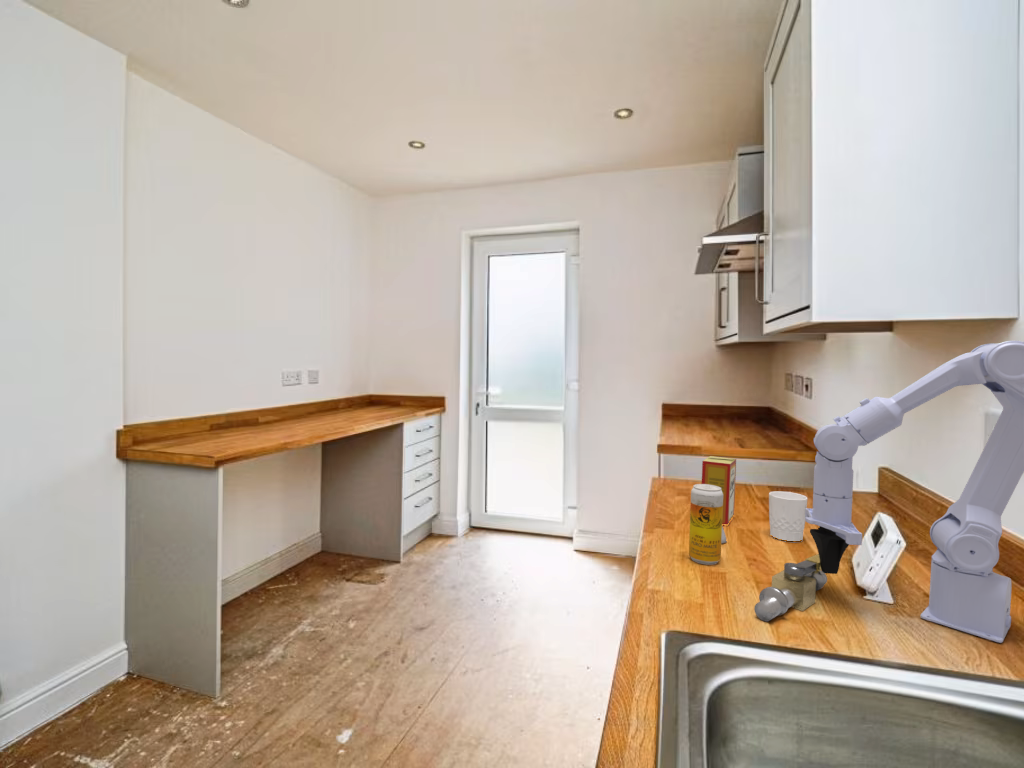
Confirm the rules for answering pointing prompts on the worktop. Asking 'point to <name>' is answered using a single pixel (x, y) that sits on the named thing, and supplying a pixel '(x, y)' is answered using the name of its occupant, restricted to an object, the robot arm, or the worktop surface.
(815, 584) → the valve body
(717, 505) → the beer can
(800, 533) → the white cup
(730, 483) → the baking soda box
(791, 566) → the lever
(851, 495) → the robot arm
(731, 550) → the worktop surface
